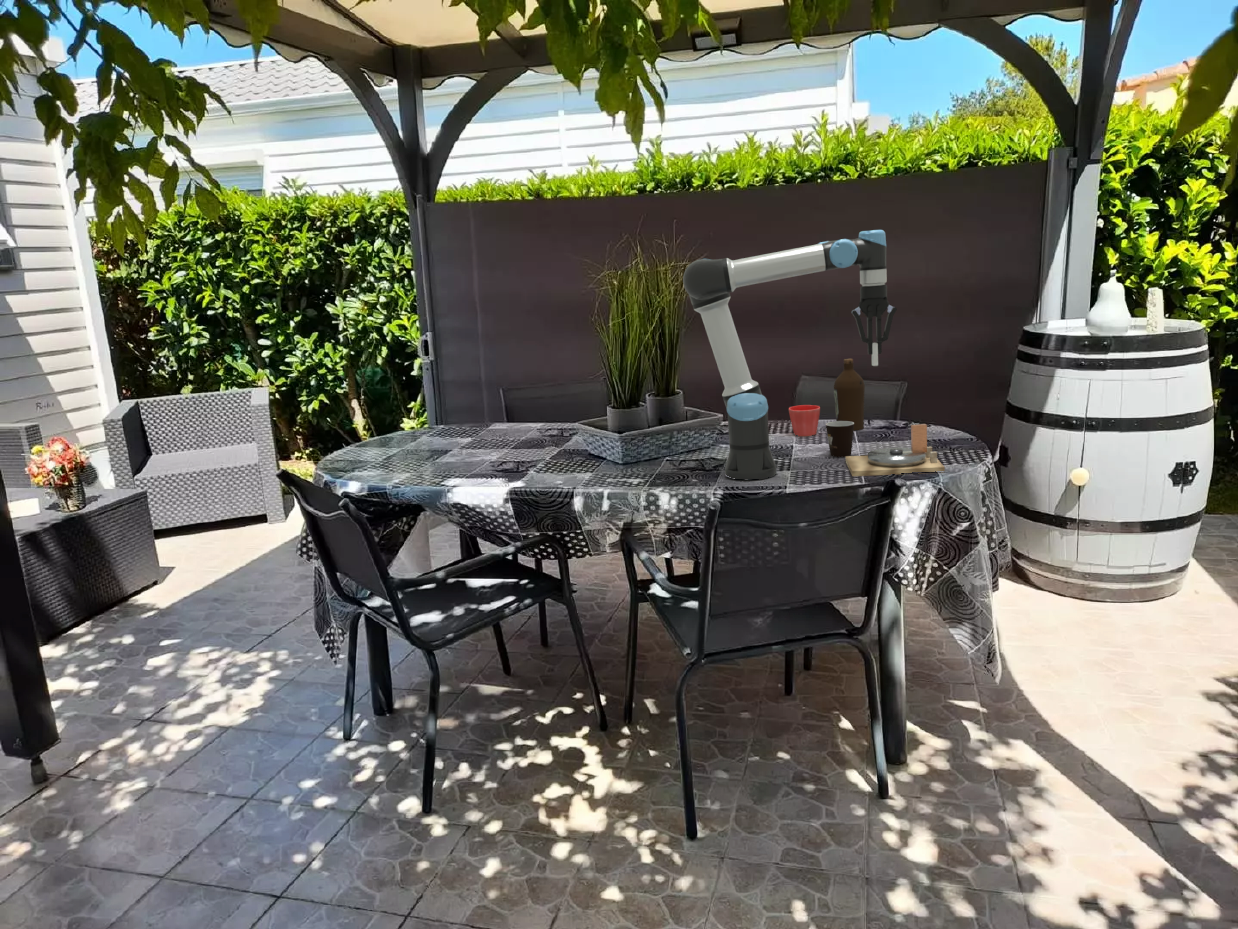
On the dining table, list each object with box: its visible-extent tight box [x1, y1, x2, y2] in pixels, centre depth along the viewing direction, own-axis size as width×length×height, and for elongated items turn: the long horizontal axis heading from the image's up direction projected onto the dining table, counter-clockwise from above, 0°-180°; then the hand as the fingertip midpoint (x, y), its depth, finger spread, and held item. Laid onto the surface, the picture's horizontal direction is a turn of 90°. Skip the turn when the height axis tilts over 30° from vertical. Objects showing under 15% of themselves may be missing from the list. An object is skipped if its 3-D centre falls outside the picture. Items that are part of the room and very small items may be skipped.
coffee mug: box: [825, 420, 855, 458], centre depth 275 cm, size 12×9×10 cm
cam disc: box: [867, 423, 928, 467], centre depth 253 cm, size 16×16×10 cm
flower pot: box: [788, 404, 821, 437], centre depth 309 cm, size 11×11×10 cm
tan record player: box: [844, 446, 946, 477], centre depth 254 cm, size 25×19×4 cm
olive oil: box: [833, 358, 866, 432], centre depth 310 cm, size 11×11×25 cm
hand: (874, 365), depth 260 cm, fingers closed
